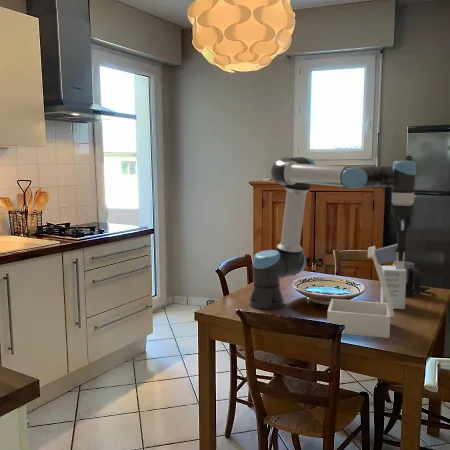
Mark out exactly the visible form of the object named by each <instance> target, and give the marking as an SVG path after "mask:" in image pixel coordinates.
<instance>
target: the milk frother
mask: <svg viewBox="0 0 450 450" xmlns="http://www.w3.org/2000/svg"><path fill="white" fill-rule="evenodd" d="M393 266H396V261H395V262H393ZM404 269H405V270H406V291H405V297H412V296H414V294H418V293H423V292H426V291H429V290H430V289H431V287H430V286H427V287H426V286H423V285H422V273H421V271H420V270H419V269H417V268H416V267H415V263H414V262H412V261H404ZM421 285H422V286H421Z"/></svg>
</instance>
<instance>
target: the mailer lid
mask: <svg viewBox="0 0 450 450" xmlns="http://www.w3.org/2000/svg"><path fill="white" fill-rule="evenodd" d="M397 247H398V244H397V243H395V244H391V245H389V246H388V245H387V246H384V247H380V248H376V245H373V246H370V247H369V246H368V248H367V259H371V258H372V261H373V264H374V266H375V267H374V268H375V269H376V274H377V277H378V280H379V283H380V288H381V287H382V290H383V293H384V296H385V299H386V303H387V306H388V309H389V312H390V318H391V317H394V316H395V315H394V314H395V313H394V309H393V303H392V300H391V296H390V293H389V290H388V287H387V283H386V280H385V277H384V274H383V270H382V267H381V266H382V265H381V264H385V263H388V262H393V261H396V258H397V252H395V250H397Z"/></svg>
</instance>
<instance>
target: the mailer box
mask: <svg viewBox="0 0 450 450" xmlns="http://www.w3.org/2000/svg"><path fill="white" fill-rule="evenodd" d="M326 315H327V316H326V323H327V322H329V323H334V324H343V325H345V329H344V331H343V333H342V334H343V335H344V334H345V335H355V336H363V337H365V336H366V337H374V338H376V337H377V338H385V339H390V336H391V335H390V331H391V316H390V312H389V309H388V306H387V303H380V302H377V301H376V302H375V301H364V300H353V299H352V300H351V299H341V298H340V299H339V298H331V299H330V302H329V305H328V309H327V314H326Z"/></svg>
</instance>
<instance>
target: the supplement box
mask: <svg viewBox="0 0 450 450" xmlns="http://www.w3.org/2000/svg"><path fill="white" fill-rule="evenodd" d="M381 267H382V270H383V274H384V277H385V280H386V283H387V287H388V290H389V293H390V296H391V300H392V303H393V310H394V309H395V310H396V309H397V310H405V308H406V296H405V291H406V270H405V269H404V270H399V269H396V266H394V265H381ZM379 298H380V300H379V301H380V303H386V299H385V296H384V293H383V290H382V287H381V286H380V297H379Z"/></svg>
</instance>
